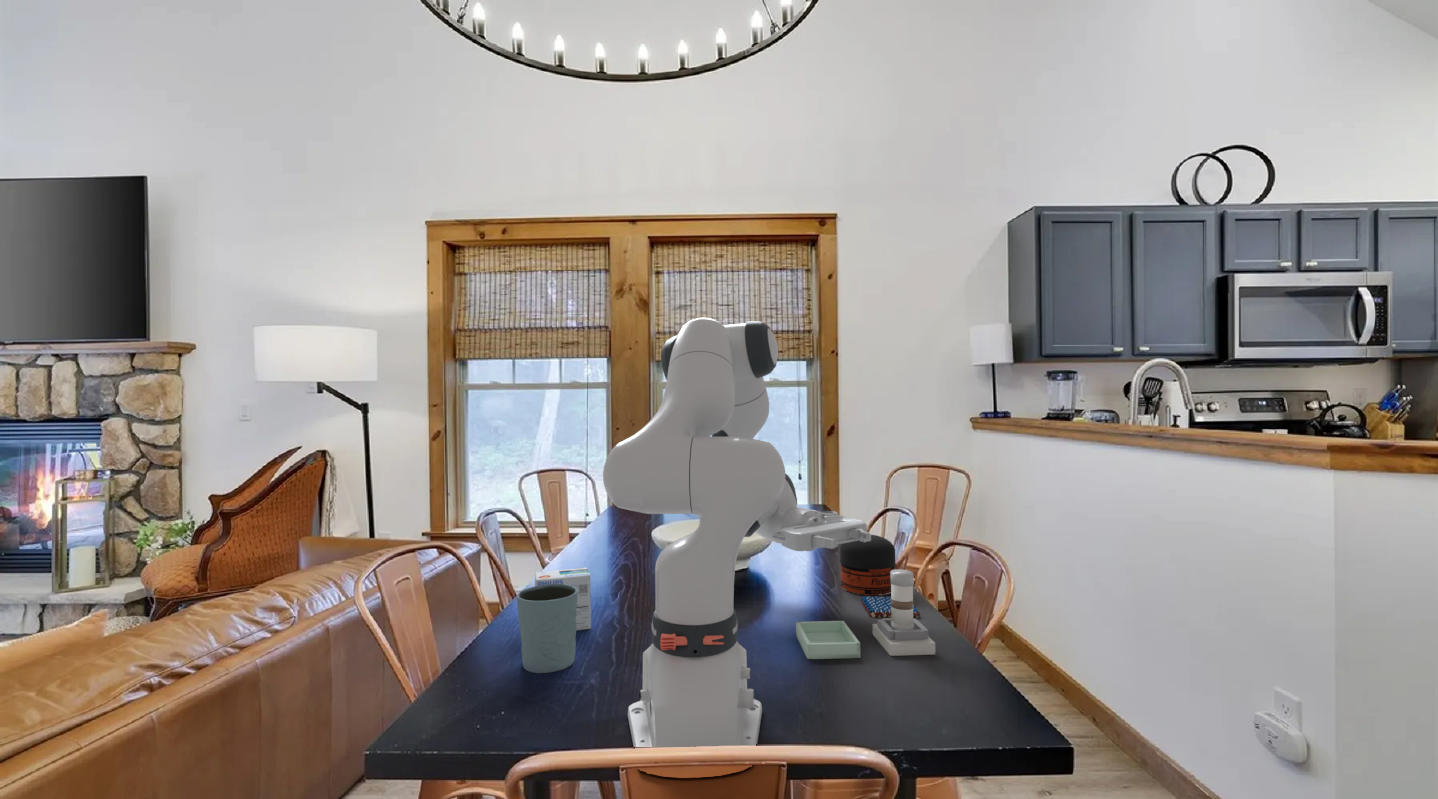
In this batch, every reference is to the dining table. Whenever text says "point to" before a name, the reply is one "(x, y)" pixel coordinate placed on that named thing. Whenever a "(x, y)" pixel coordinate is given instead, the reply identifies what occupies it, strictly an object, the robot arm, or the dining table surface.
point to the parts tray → (827, 640)
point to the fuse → (902, 599)
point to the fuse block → (904, 639)
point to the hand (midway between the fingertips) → (852, 541)
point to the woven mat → (881, 606)
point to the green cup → (547, 627)
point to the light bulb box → (578, 580)
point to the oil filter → (867, 566)
